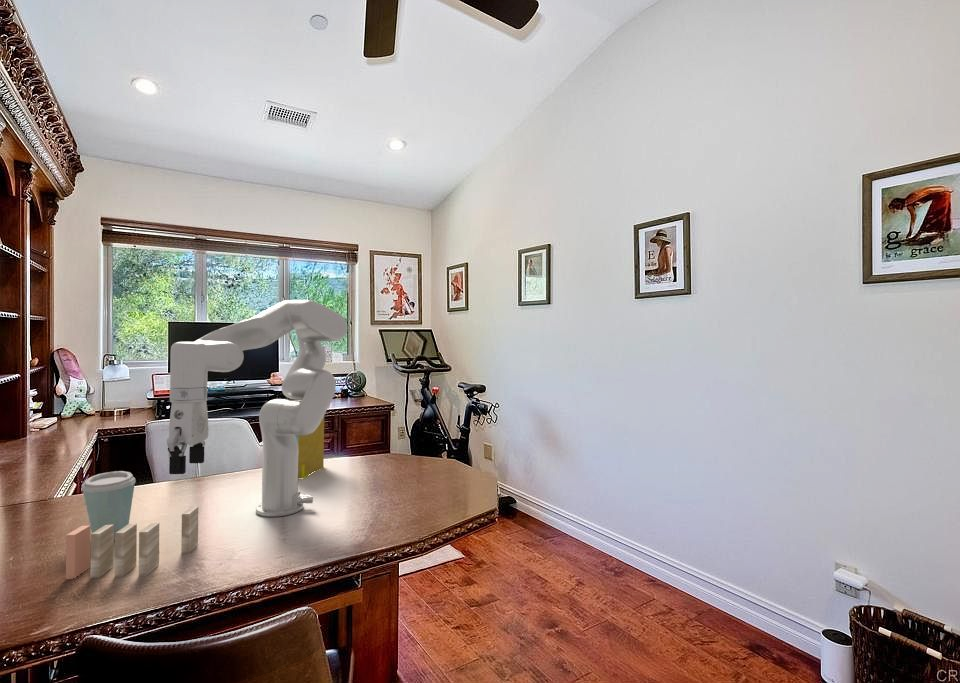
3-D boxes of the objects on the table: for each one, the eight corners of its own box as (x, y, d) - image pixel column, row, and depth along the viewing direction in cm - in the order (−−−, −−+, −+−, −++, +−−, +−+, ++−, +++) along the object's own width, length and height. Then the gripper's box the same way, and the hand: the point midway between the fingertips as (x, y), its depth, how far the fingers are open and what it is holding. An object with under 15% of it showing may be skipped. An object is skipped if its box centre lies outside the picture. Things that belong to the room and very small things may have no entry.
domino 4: (159, 564, 107) (159, 522, 107) (147, 575, 102) (147, 531, 102) (151, 564, 107) (151, 523, 107) (138, 575, 102) (139, 532, 102)
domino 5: (197, 544, 118) (198, 506, 118) (188, 553, 113) (189, 513, 113) (190, 544, 118) (191, 506, 117) (181, 553, 113) (181, 514, 113)
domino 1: (90, 567, 105) (90, 525, 105) (74, 578, 100) (74, 534, 100) (81, 568, 105) (82, 525, 105) (65, 579, 100) (66, 535, 100)
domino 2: (113, 566, 106) (113, 524, 106) (99, 577, 101) (99, 533, 101) (105, 566, 106) (105, 524, 106) (90, 578, 101) (90, 534, 101)
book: (302, 479, 173) (303, 407, 172) (285, 477, 174) (286, 406, 174) (327, 466, 189) (328, 401, 189) (311, 465, 191) (312, 400, 190)
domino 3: (136, 565, 107) (136, 523, 107) (123, 576, 102) (123, 532, 102) (128, 565, 106) (128, 523, 106) (114, 576, 101) (115, 533, 101)
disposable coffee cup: (134, 540, 119) (135, 478, 119) (77, 550, 113) (78, 485, 113) (136, 526, 128) (136, 468, 128) (83, 534, 122) (84, 474, 122)
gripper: (189, 399, 107) (187, 478, 107) (220, 391, 124) (219, 459, 124) (151, 399, 106) (150, 478, 106) (188, 390, 124) (187, 459, 124)
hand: (187, 468), depth 115 cm, fingers open, 9 cm apart
